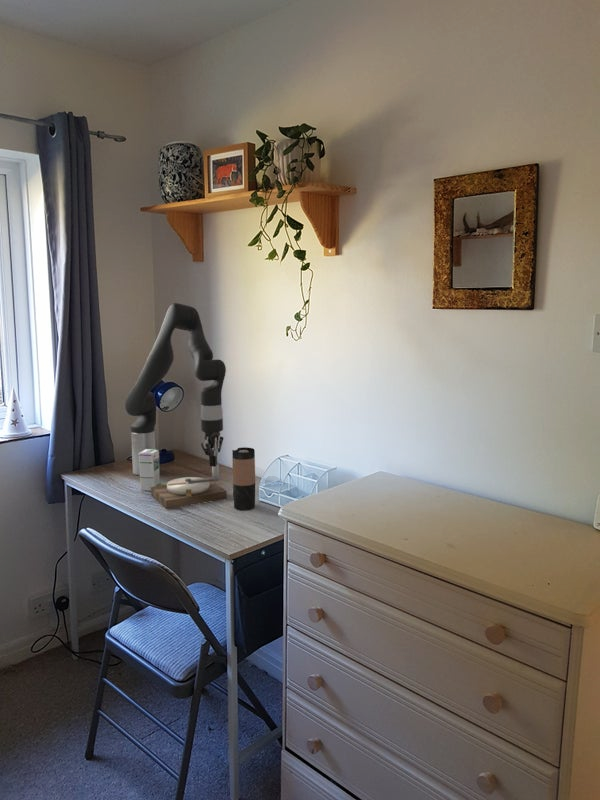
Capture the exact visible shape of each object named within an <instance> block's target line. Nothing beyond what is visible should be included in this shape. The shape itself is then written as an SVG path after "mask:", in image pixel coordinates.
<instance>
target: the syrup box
mask: <svg viewBox="0 0 600 800" xmlns="http://www.w3.org/2000/svg"><path fill="white" fill-rule="evenodd" d="M138 454H139V470H140V475H139V484H140V485H139V486H140V490H141V491H145V490H147V491H148V492H149V491H150V492H151V487H154V486H161V485H162V482H161V480H162V479H161V468H160V467H161V465H160V463H161V462H160V450H159V449H156V448H155V449H145V450H144V451H142V452H140V453H138ZM147 491H146V492H147Z"/></svg>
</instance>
